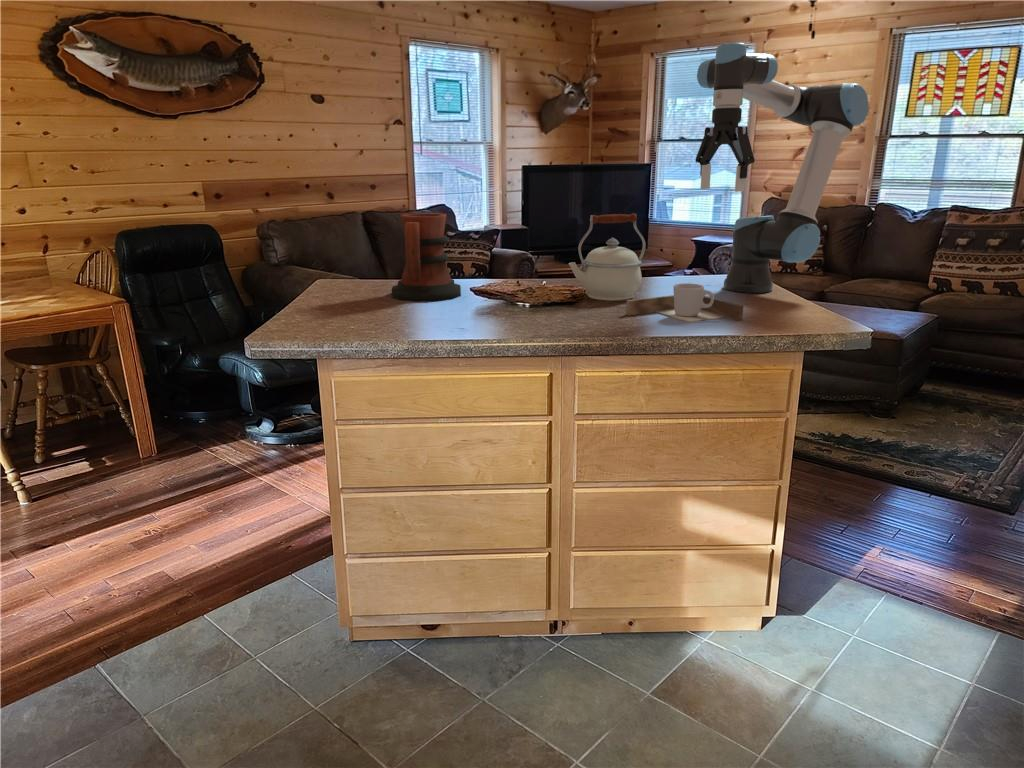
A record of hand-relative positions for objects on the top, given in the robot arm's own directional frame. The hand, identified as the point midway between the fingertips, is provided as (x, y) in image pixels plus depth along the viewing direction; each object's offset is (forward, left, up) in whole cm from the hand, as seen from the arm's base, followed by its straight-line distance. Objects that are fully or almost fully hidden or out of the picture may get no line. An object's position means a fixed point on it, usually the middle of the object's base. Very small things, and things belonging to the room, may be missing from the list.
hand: (721, 190), depth 201 cm
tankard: (+68, -54, -33) cm, 92 cm away
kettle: (+19, -27, -33) cm, 46 cm away
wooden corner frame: (+17, +7, -33) cm, 37 cm away
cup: (+13, +7, -32) cm, 36 cm away
